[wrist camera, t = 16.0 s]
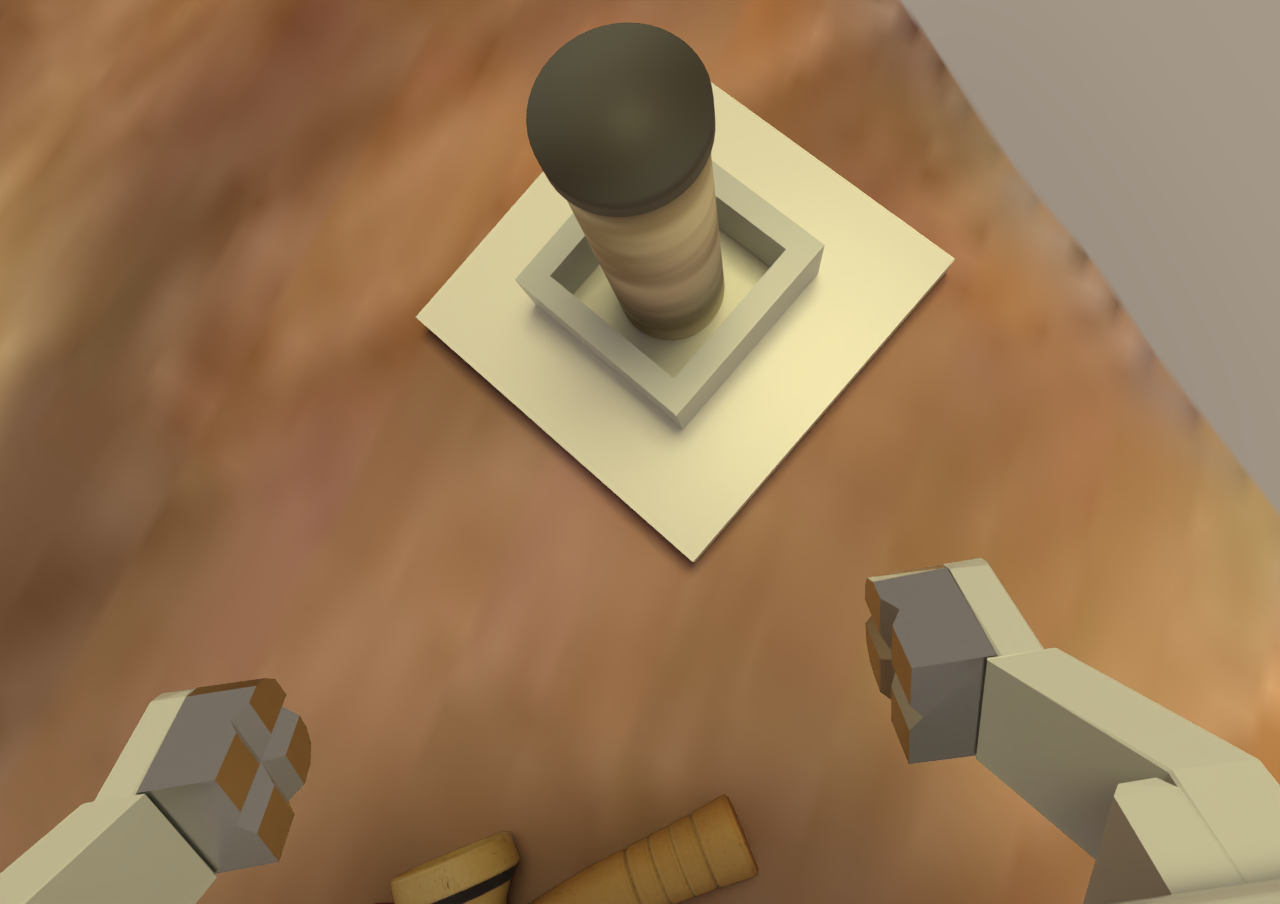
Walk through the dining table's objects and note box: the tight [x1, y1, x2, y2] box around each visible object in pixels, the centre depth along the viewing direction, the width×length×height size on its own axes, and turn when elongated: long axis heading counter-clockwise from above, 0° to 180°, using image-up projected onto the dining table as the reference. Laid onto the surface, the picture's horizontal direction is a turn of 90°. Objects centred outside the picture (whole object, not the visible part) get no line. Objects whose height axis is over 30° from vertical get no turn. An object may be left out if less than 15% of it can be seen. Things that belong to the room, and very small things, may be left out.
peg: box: [526, 23, 725, 340], centre depth 27 cm, size 5×5×13 cm
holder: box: [416, 82, 955, 562], centre depth 32 cm, size 16×16×4 cm
